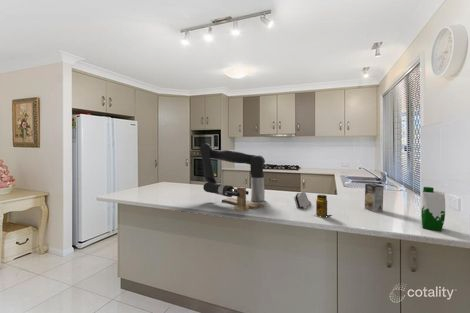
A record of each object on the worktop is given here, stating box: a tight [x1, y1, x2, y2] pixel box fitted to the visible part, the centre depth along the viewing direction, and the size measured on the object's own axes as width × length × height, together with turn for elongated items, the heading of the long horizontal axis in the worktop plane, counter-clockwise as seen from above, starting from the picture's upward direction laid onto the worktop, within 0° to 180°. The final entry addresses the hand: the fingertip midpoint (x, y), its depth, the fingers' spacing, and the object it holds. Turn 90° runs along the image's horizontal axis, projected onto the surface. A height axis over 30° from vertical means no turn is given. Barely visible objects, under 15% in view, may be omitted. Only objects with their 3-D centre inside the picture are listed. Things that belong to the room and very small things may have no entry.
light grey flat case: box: [293, 191, 312, 209], centre depth 170 cm, size 17×5×10 cm, turn 148°
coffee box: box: [364, 183, 385, 213], centre depth 157 cm, size 9×6×16 cm
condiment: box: [315, 194, 328, 218], centre depth 146 cm, size 7×8×12 cm
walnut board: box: [221, 197, 264, 210], centre depth 174 cm, size 10×30×2 cm, turn 46°
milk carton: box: [421, 186, 446, 233], centre depth 123 cm, size 9×9×20 cm
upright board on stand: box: [233, 186, 250, 212], centre depth 161 cm, size 6×7×14 cm
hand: (243, 193), depth 159 cm, fingers open, 8 cm apart
